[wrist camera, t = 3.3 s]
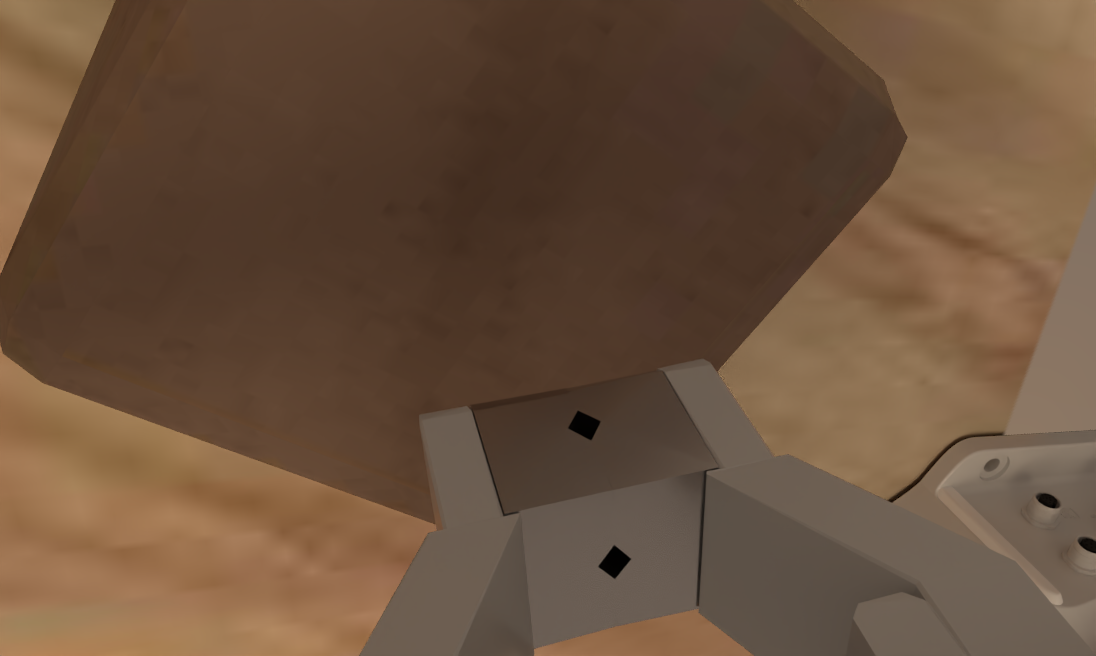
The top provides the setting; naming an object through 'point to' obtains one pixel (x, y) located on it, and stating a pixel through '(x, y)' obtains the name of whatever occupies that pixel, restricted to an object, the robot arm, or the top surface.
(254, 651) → the top surface
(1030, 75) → the top surface
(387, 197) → the wooden block
